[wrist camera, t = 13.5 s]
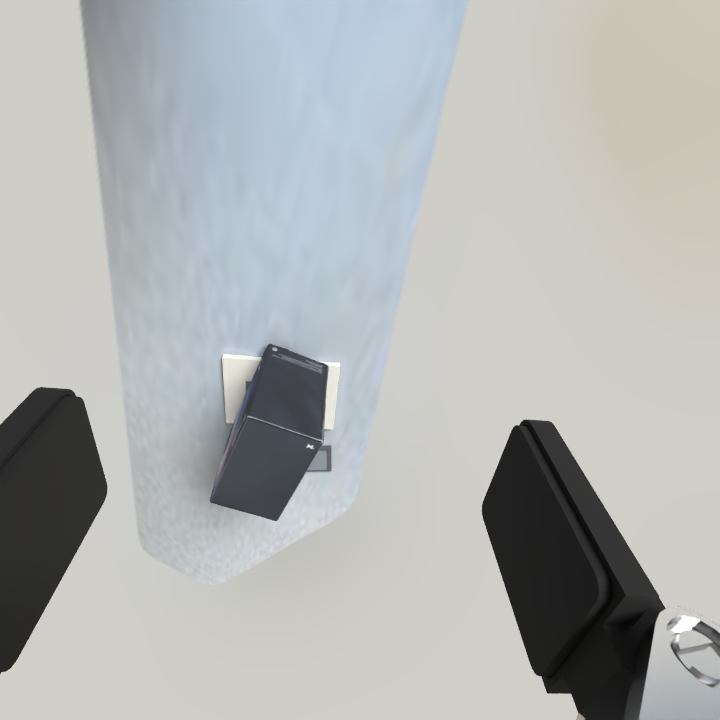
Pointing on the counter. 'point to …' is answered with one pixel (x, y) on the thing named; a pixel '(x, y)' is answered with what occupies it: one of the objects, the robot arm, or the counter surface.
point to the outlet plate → (242, 371)
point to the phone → (321, 460)
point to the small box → (273, 434)
